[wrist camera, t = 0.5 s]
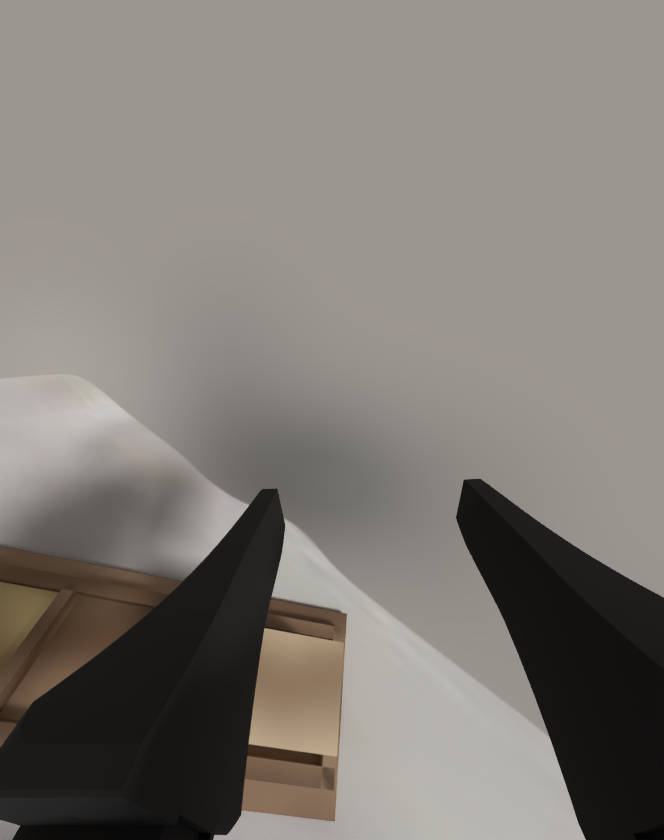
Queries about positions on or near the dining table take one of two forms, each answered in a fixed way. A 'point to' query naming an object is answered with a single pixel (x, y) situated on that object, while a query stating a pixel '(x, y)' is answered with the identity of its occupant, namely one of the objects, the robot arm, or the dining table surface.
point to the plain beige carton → (298, 693)
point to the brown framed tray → (108, 620)
